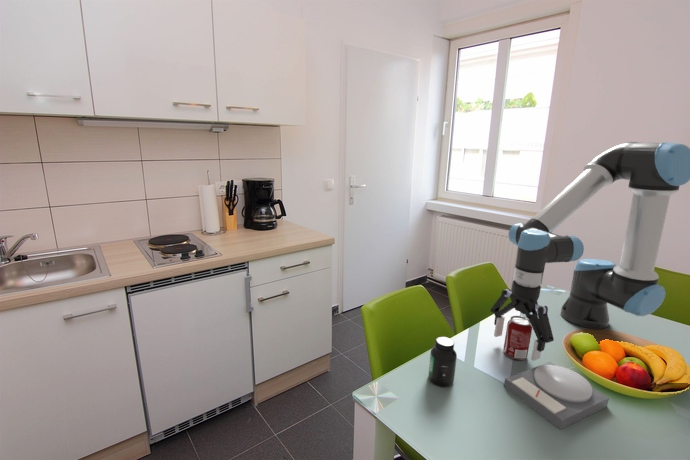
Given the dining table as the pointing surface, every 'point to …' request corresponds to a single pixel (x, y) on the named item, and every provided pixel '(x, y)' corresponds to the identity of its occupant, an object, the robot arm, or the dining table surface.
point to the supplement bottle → (442, 362)
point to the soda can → (517, 337)
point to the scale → (556, 393)
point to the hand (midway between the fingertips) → (515, 346)
